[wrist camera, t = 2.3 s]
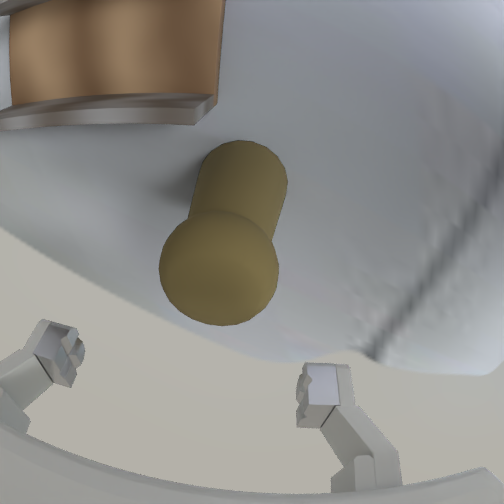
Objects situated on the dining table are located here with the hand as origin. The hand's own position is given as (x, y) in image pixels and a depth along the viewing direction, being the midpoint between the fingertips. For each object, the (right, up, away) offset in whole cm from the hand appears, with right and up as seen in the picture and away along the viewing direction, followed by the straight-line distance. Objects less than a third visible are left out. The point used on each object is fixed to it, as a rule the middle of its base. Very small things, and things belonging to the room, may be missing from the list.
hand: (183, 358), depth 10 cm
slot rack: (-7, +21, +3) cm, 22 cm away
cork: (+2, +8, +11) cm, 14 cm away
